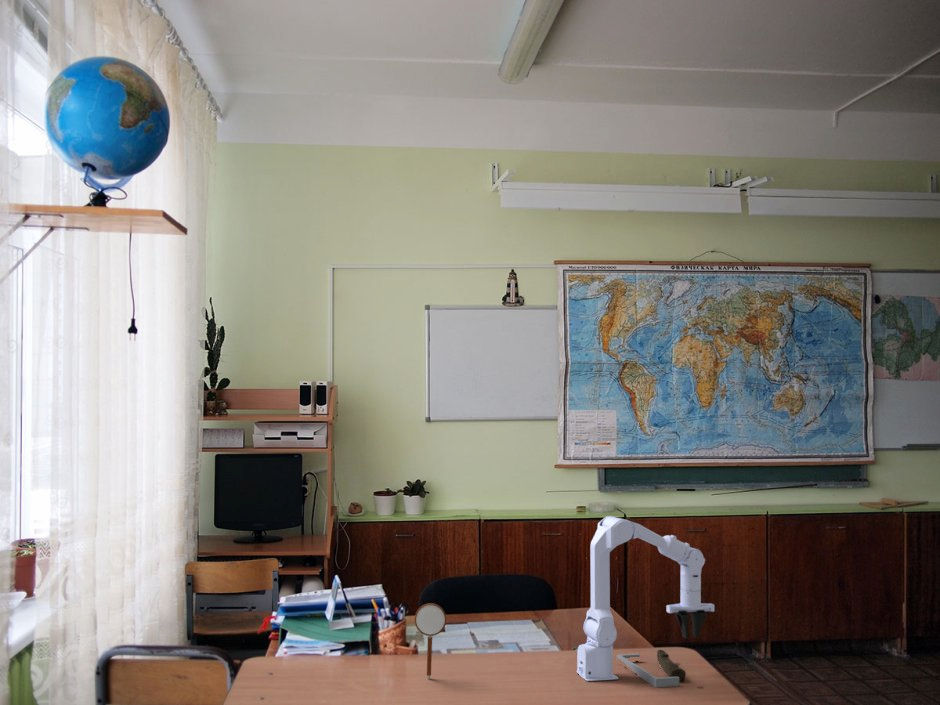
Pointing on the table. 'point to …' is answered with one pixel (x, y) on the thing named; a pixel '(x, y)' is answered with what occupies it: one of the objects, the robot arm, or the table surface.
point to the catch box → (648, 676)
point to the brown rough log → (670, 666)
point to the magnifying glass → (430, 626)
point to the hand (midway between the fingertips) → (690, 637)
